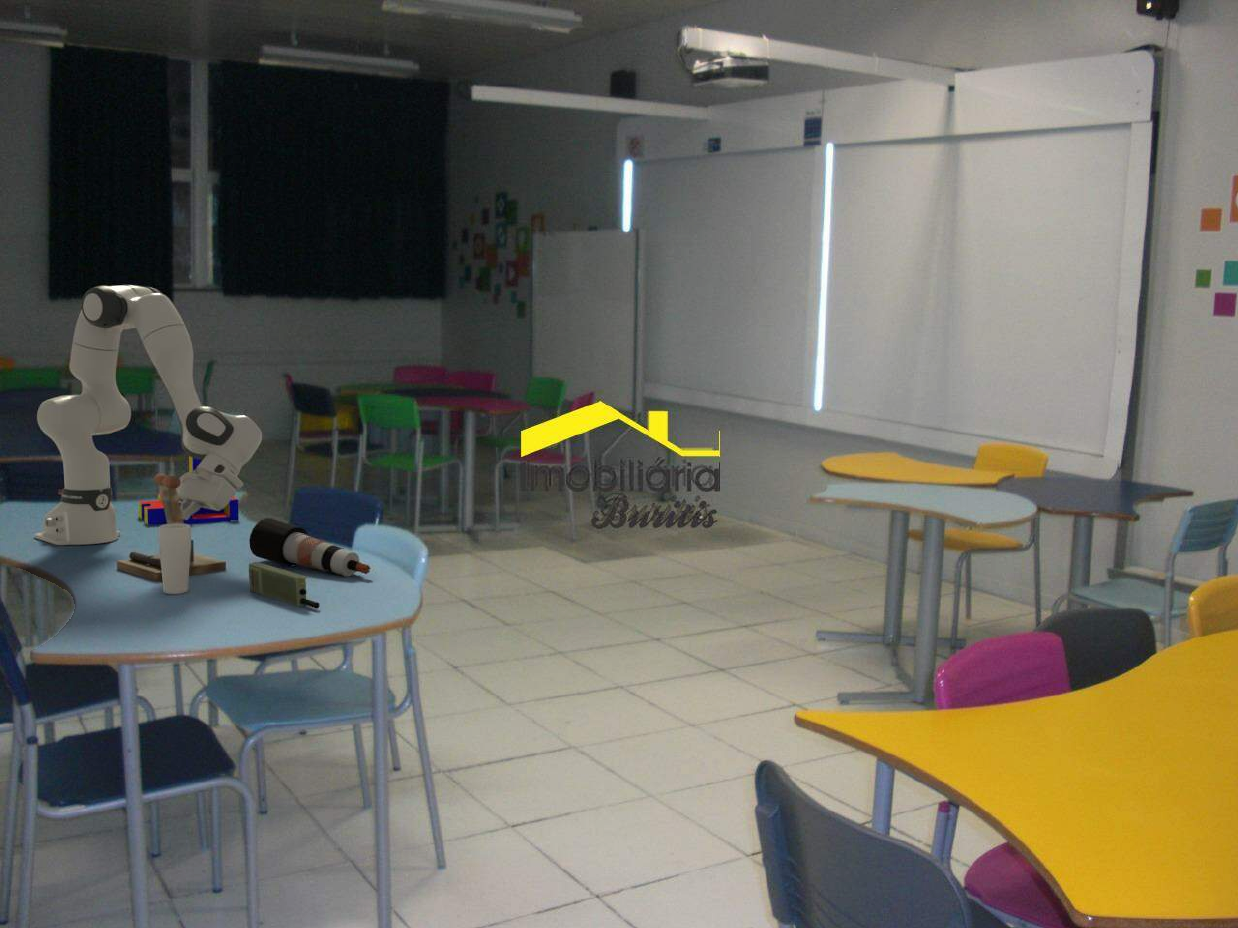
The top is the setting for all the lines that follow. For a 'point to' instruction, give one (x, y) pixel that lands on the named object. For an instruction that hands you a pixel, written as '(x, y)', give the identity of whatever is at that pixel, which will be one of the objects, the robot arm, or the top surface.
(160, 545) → the drinking glass
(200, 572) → the cutter board
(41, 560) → the top surface
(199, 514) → the building blocks toy
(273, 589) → the handheld radio
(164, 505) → the cutter lever
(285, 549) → the cable
